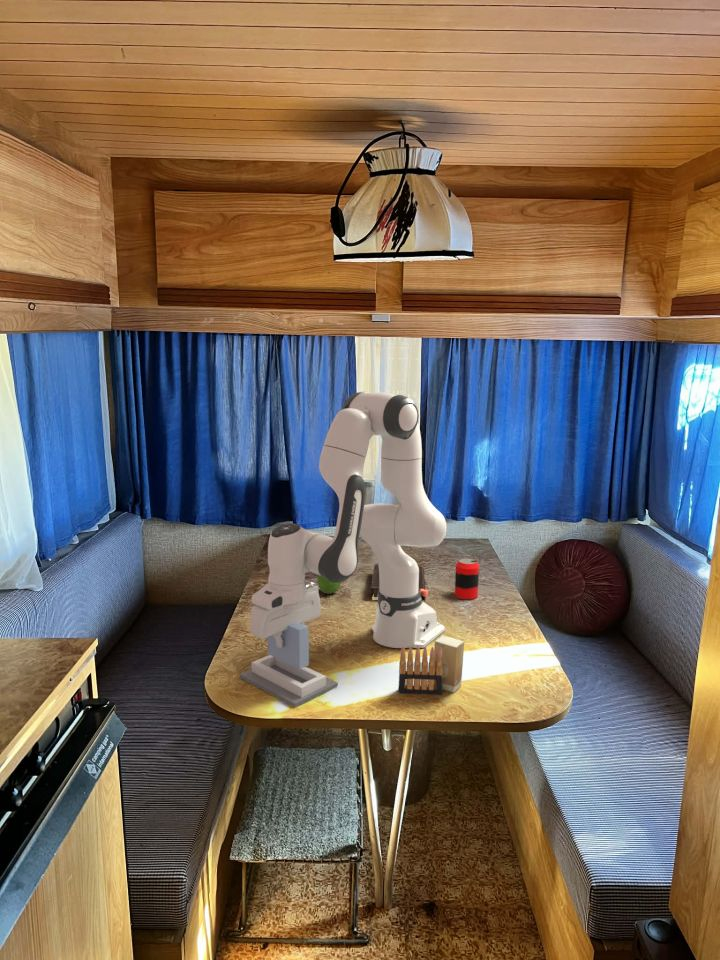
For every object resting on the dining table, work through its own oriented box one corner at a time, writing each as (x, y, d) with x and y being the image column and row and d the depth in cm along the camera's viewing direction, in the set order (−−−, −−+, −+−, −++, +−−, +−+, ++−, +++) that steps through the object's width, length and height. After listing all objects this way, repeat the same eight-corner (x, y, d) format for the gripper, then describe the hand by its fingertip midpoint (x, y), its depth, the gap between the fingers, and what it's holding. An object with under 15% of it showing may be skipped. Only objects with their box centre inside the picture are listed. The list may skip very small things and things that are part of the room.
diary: (423, 578, 259) (424, 564, 257) (425, 604, 234) (426, 589, 233) (371, 575, 260) (372, 562, 259) (368, 601, 235) (368, 587, 234)
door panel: (276, 650, 185) (276, 613, 183) (308, 664, 177) (308, 626, 175) (267, 653, 183) (266, 616, 181) (299, 669, 175) (299, 630, 173)
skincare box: (431, 686, 180) (433, 640, 177) (439, 679, 183) (441, 634, 181) (454, 693, 176) (456, 647, 174) (462, 686, 180) (464, 640, 177)
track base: (281, 659, 193) (281, 647, 193) (337, 686, 179) (337, 673, 179) (239, 677, 183) (239, 665, 183) (295, 707, 169) (295, 694, 169)
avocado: (314, 596, 238) (313, 561, 236) (322, 587, 246) (322, 554, 243) (337, 598, 236) (337, 563, 234) (344, 590, 244) (344, 556, 241)
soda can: (479, 600, 236) (481, 565, 234) (456, 600, 236) (457, 565, 234) (475, 591, 244) (477, 557, 241) (453, 591, 243) (454, 557, 241)
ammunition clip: (441, 691, 177) (443, 645, 175) (442, 695, 176) (443, 649, 173) (398, 689, 178) (399, 644, 176) (398, 693, 176) (399, 647, 174)
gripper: (309, 577, 186) (309, 627, 189) (245, 598, 171) (247, 652, 174) (326, 583, 181) (326, 634, 184) (262, 605, 167) (264, 660, 170)
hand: (287, 643), depth 179 cm, fingers closed on door panel, 3 cm apart
